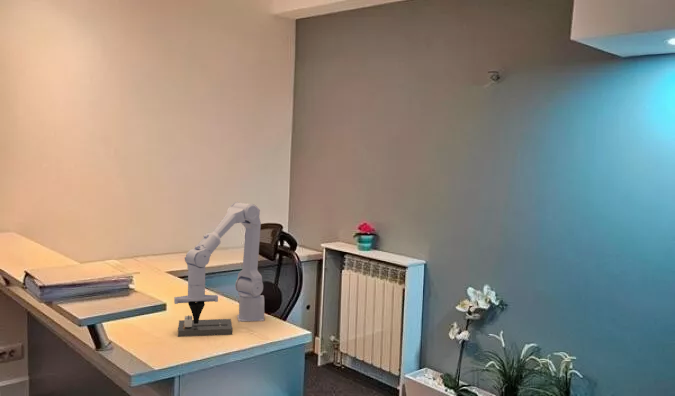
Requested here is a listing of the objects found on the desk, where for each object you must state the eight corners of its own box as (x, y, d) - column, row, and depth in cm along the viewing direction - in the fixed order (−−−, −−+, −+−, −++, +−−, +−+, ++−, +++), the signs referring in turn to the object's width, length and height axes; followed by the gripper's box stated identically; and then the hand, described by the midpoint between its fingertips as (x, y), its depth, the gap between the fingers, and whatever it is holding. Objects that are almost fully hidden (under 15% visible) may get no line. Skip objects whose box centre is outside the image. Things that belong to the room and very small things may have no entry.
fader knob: (192, 322, 206) (192, 315, 205) (191, 326, 201) (192, 319, 201) (184, 322, 205) (184, 315, 205) (184, 327, 200) (184, 319, 200)
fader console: (230, 324, 213) (230, 318, 213) (232, 334, 202) (232, 328, 201) (179, 326, 209) (179, 320, 209) (177, 336, 197) (177, 330, 197)
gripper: (216, 280, 208) (215, 318, 210) (173, 282, 204) (173, 320, 205) (219, 285, 202) (218, 324, 203) (175, 287, 197) (174, 326, 198)
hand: (195, 322), depth 203 cm, fingers closed
